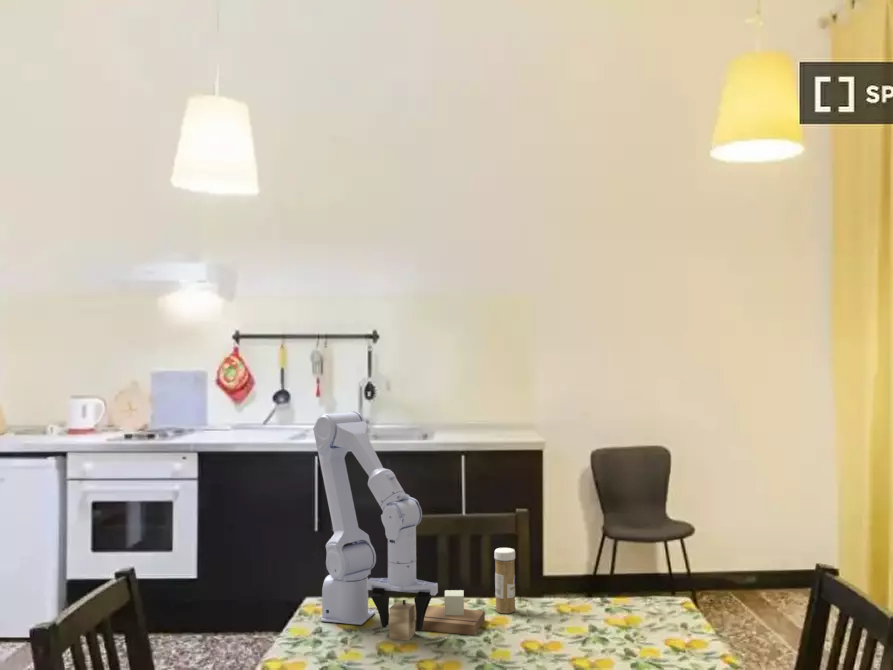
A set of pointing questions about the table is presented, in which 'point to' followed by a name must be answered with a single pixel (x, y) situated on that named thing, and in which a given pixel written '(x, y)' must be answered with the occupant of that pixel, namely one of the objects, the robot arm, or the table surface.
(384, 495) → the robot arm
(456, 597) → the offcut block
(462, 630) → the plank
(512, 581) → the sprinkles bottle
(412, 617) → the block
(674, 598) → the table surface
